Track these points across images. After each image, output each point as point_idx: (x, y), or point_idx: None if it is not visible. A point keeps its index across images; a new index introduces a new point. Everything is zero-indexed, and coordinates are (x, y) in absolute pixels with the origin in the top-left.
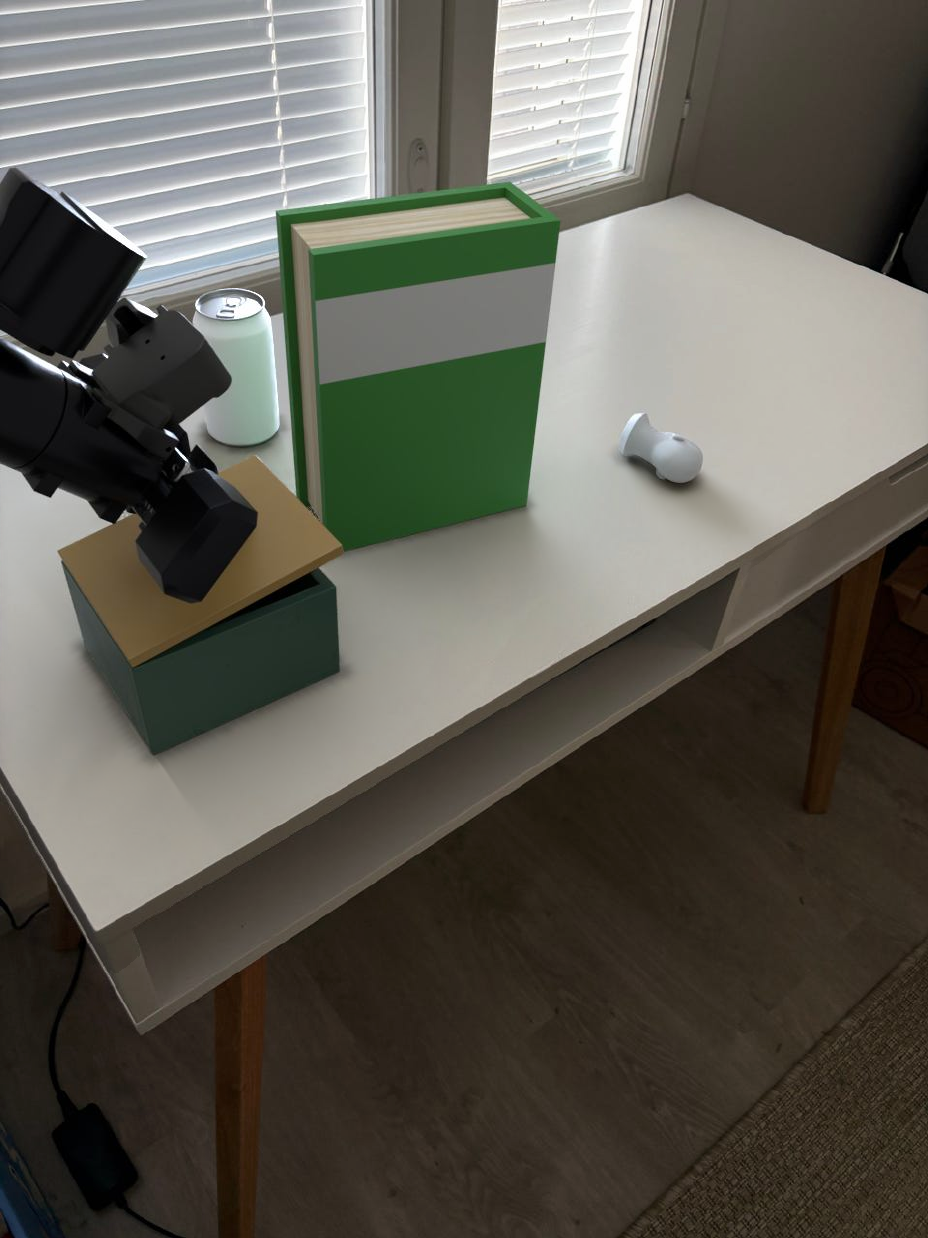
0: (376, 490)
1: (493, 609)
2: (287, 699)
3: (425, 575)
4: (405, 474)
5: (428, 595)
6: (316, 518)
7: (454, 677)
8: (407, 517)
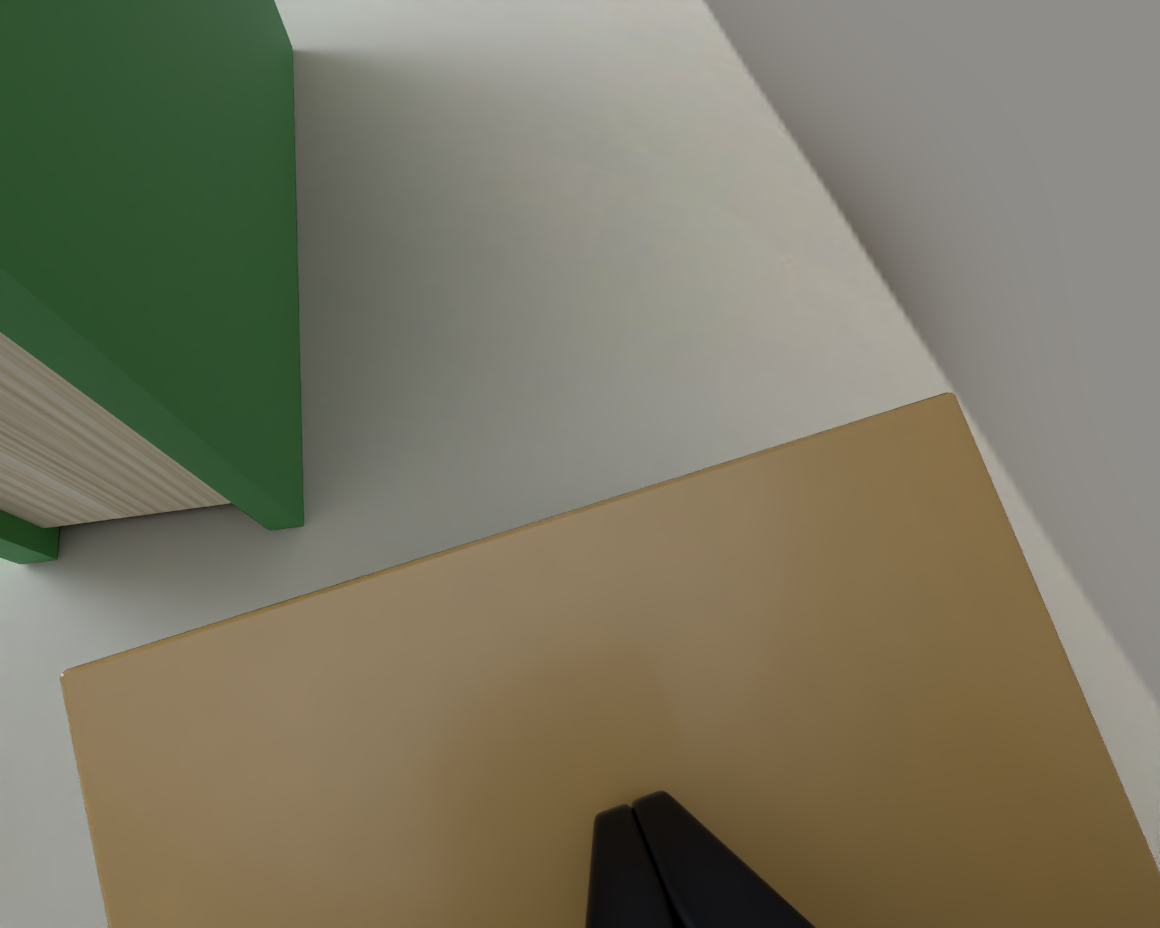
0: (227, 291)
1: (624, 210)
2: None
3: (465, 312)
4: (211, 182)
5: (540, 324)
6: (737, 461)
7: (825, 343)
8: (277, 279)
